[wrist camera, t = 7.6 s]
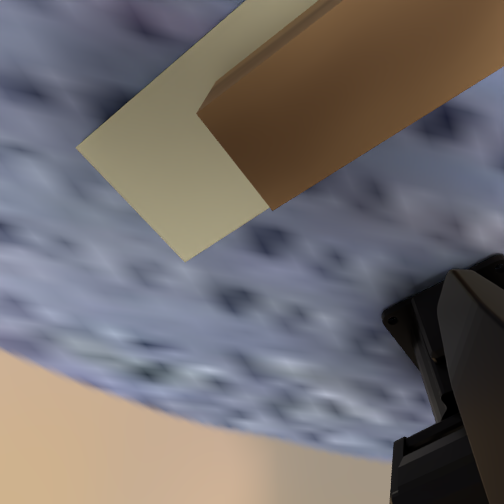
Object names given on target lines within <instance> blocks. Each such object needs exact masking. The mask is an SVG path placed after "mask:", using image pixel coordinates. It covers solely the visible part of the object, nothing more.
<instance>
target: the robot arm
mask: <svg viewBox="0 0 504 504" xmlns="http://www.w3.org/2000/svg"><path fill="white" fill-rule="evenodd" d="M500 264H503V265H502V267H500V268H497V269H495V267H496V266H497V265H500ZM390 317H396V318H395V319H392V320H390V319H389V318H390ZM382 321H383V324H384V326H385V327H386V328H387V330H388V331H389V332H390V333H391V335H392V336H393V337H394V339H395V340H396V341H397V342H398V344H399V345H400V346H401V347H402V349H403V350H404V351H405V353H406V354H407V355H408V356H409V358H410V359H411V360H412V362H413V363H414V364H415V365H416V367H417V368H418V369H419V370H420V373H421V376H422V379H423V382H424V385H425V389H426V392H427V395H428V398H429V402H430V405H431V408H432V411H433V415H434V418H435V421H436V424H434V425H432V426H430V427H428V428H426V429H424V430H422V431H420V432H418V433H416V434H414V435H412V436H410V437H408V438H407V437H403V438H401V439H399V440H397V441H395V442H394V447H393V461H392V476H391V490H390V504H504V256H503V255H496V256H493V257H491V258H489V259H487V260H485V261H483V262H481V263H479V264H477V265H475V266H473V267H471V268H469V269H467V270H463V269H451V270H450V271H448V273H447V275H446V278H445V281H443V282H441V283H439V284H437V285H435V286H433V287H431V288H429V289H427V290H425V291H423V292H421V293H419V294H417V295H415V296H413V297H411V298H409V299H406V300H404V301H402V302H400V303H398V304H396V305H394V306H392V307H390V308H388V309H386V310H385V311H384V312H383V313H382Z"/></svg>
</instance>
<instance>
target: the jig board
mask: <svg viewBox="0 0 504 504" xmlns="http://www.w3.org/2000/svg"><path fill="white" fill-rule="evenodd" d="M317 1H318V0H245V1H244V2H243V3H242V4H241V5H240V6H239V7H237V8H236V9H235V10H234V11H233V12H232V13H230V14H229V15H228V16H227V17H226V18H225V19H224V20H222V21H221V22H220V23H219V24H218V25H217V26H215V27H214V28H213V29H212V30H211V31H210V32H209V33H207V34H206V35H205V36H204V37H203V38H202V39H200V40H199V41H198V42H197V43H196V44H195V45H193V46H192V47H191V48H190V49H189V50H188V51H187V52H185V53H184V54H183V55H182V56H181V57H180V58H178V59H177V60H176V61H175V62H174V63H173V64H172V65H170V66H169V67H168V68H167V69H166V70H165V71H163V72H162V73H161V74H160V75H159V76H158V77H156V78H155V79H154V80H153V81H152V82H151V83H150V84H148V85H147V86H146V87H145V88H144V89H143V90H141V91H140V92H139V93H138V94H137V95H136V96H135V97H133V98H132V99H131V100H130V101H129V102H128V103H126V104H125V105H124V106H123V107H122V108H121V109H120V110H118V111H117V112H116V113H115V114H114V115H113V116H111V117H110V118H109V119H108V120H107V121H106V122H104V123H103V124H102V125H101V126H100V127H99V128H98V129H96V130H95V131H94V132H93V133H92V134H91V135H89V136H88V137H87V138H86V139H85V140H84V141H83V142H81V143H80V144H79V145H78V146H77V147H76V149H77V150H78V151H79V152H80V153H81V154H82V155H83V156H84V157H85V158H86V159H87V160H88V161H89V162H90V163H91V165H92V166H93V167H94V168H95V169H96V170H97V171H98V172H99V173H100V174H101V175H102V176H103V177H104V178H105V179H106V180H107V181H108V182H109V183H110V184H111V185H112V186H113V188H114V189H115V190H116V191H117V192H118V193H119V194H120V195H121V196H122V197H123V198H124V199H125V200H126V201H127V202H128V203H129V204H130V205H131V206H132V207H133V208H134V210H135V211H136V212H137V213H138V214H139V215H140V216H141V217H142V218H143V219H144V220H145V221H146V222H147V223H148V224H149V225H150V226H151V227H152V228H153V229H154V230H155V232H156V233H157V234H158V235H159V236H160V237H161V238H162V239H163V240H164V241H165V242H166V243H167V244H168V245H169V246H170V247H171V248H172V249H173V250H174V251H175V252H176V253H177V255H178V256H179V257H180V258H181V259H182V260H183V261H184V262H186V261H188V260H189V259H191V258H193V257H194V256H196V255H197V254H199V253H200V252H202V251H203V250H205V249H206V248H208V247H209V246H211V245H213V244H214V243H216V242H217V241H219V240H220V239H222V238H223V237H225V236H226V235H228V234H230V233H231V232H233V231H234V230H236V229H237V228H239V227H240V226H242V225H243V224H245V223H247V222H248V221H250V220H251V219H253V218H254V217H256V216H257V215H259V214H260V213H262V212H263V211H265V210H267V209H268V208H270V207H269V206H268V205H267V203H266V202H265V201H264V199H263V198H262V197H261V196H260V194H259V193H258V192H257V191H256V189H255V188H254V187H253V185H252V184H251V183H250V182H249V180H248V179H247V178H246V177H245V175H244V174H243V173H242V171H241V170H240V169H239V168H238V166H237V165H236V164H235V163H234V161H233V160H232V159H231V157H230V156H229V155H228V154H227V152H226V151H225V150H224V149H223V147H222V146H221V145H220V143H219V142H218V141H217V140H216V138H215V137H214V136H213V135H212V133H211V132H210V131H209V129H208V128H207V127H206V126H205V124H204V123H203V122H202V121H201V119H200V118H199V117H198V116H197V114H196V113H197V111H198V110H199V108H200V106H201V105H202V103H203V102H204V100H205V98H206V97H207V95H208V93H209V92H210V90H211V89H212V87H213V85H214V84H215V82H216V81H217V80H218V79H219V78H221V77H222V76H223V75H224V74H226V73H227V72H228V71H229V70H231V69H232V68H233V67H235V66H236V65H237V64H238V63H240V62H241V61H242V60H243V59H245V58H246V57H247V56H249V55H250V54H251V53H252V52H254V51H255V50H256V49H257V48H259V47H260V46H261V45H262V44H264V43H265V42H266V41H268V40H269V39H270V38H271V37H273V36H274V35H275V34H276V33H278V32H279V31H280V30H282V29H283V28H284V27H285V26H287V25H288V24H289V23H290V22H292V21H293V20H294V19H295V18H297V17H298V16H299V15H301V14H302V13H303V12H304V11H306V10H307V9H308V8H309V7H311V6H312V5H313V4H314V3H316V2H317Z"/></svg>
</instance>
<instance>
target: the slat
mask: <svg viewBox="0 0 504 504" xmlns="http://www.w3.org/2000/svg"><path fill="white" fill-rule="evenodd" d="M503 66H504V0H318V1H317V2H316V3H314V4H313V5H312V6H311V7H309V8H308V9H307V10H306V11H304V12H303V13H302V14H301V15H299V16H298V17H297V18H295V19H294V20H293V21H292V22H290V23H289V24H288V25H287V26H285V27H284V28H283V29H282V30H280V31H279V32H278V33H276V34H275V35H274V36H273V37H271V38H270V39H269V40H268V41H266V42H265V43H264V44H262V45H261V46H260V47H259V48H257V49H256V50H255V51H254V52H252V53H251V54H250V55H249V56H247V57H246V58H245V59H243V60H242V61H241V62H240V63H238V64H237V65H236V66H235V67H233V68H232V69H231V70H229V71H228V72H227V73H226V74H224V75H223V76H222V77H221V78H219V79H218V80H217V81H216V82H215V84H214V85H213V87H212V89H211V90H210V92H209V93H208V95H207V97H206V98H205V100H204V102H203V103H202V105H201V106H200V108H199V110H198V111H197V113H196V114H197V116H198V117H199V118H200V119H201V121H202V122H203V123H204V124H205V126H206V127H207V128H208V129H209V131H210V132H211V133H212V135H213V136H214V137H215V138H216V140H217V141H218V142H219V143H220V145H221V146H222V147H223V149H224V150H225V151H226V152H227V154H228V155H229V156H230V157H231V159H232V160H233V161H234V163H235V164H236V165H237V166H238V168H239V169H240V170H241V171H242V173H243V174H244V175H245V177H246V178H247V179H248V180H249V182H250V183H251V184H252V185H253V187H254V188H255V189H256V191H257V192H258V193H259V194H260V196H261V197H262V198H263V199H264V201H265V202H266V203H267V205H268V206H269V207H270V208H271V210H272V211H273V210H275V209H276V208H278V207H280V206H281V205H283V204H284V203H286V202H288V201H289V200H291V199H292V198H294V197H296V196H297V195H299V194H300V193H302V192H304V191H305V190H307V189H308V188H310V187H312V186H313V185H315V184H316V183H318V182H320V181H321V180H323V179H324V178H326V177H328V176H329V175H331V174H332V173H334V172H336V171H337V170H339V169H340V168H342V167H344V166H345V165H347V164H348V163H350V162H352V161H353V160H355V159H356V158H358V157H360V156H361V155H363V154H364V153H366V152H368V151H369V150H371V149H372V148H374V147H376V146H377V145H379V144H380V143H382V142H383V141H385V140H387V139H388V138H390V137H391V136H393V135H395V134H396V133H398V132H399V131H401V130H403V129H404V128H406V127H407V126H409V125H411V124H412V123H414V122H415V121H417V120H419V119H420V118H422V117H423V116H425V115H427V114H428V113H430V112H431V111H433V110H435V109H436V108H438V107H439V106H441V105H443V104H444V103H446V102H447V101H449V100H451V99H452V98H454V97H455V96H457V95H459V94H460V93H462V92H463V91H465V90H467V89H468V88H470V87H471V86H473V85H475V84H476V83H478V82H479V81H481V80H483V79H484V78H486V77H487V76H489V75H490V74H492V73H494V72H495V71H497V70H498V69H500V68H502V67H503Z"/></svg>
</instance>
